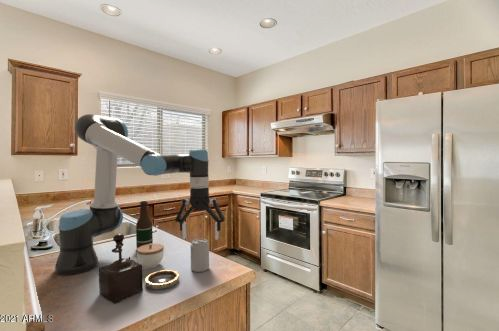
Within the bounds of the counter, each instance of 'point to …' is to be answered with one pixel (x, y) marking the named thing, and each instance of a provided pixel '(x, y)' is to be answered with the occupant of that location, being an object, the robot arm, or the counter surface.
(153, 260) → the lidded jar
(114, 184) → the robot arm
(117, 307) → the counter surface
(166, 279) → the coaster
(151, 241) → the beer bottle
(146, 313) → the counter surface
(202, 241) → the can
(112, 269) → the dark brown coffee grinder
